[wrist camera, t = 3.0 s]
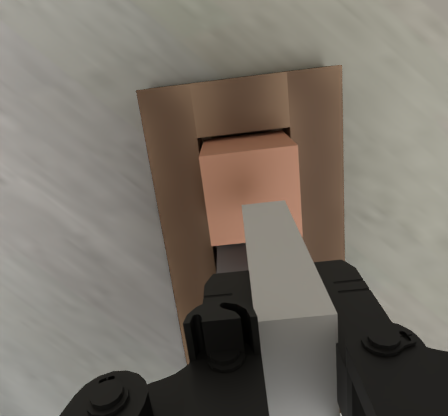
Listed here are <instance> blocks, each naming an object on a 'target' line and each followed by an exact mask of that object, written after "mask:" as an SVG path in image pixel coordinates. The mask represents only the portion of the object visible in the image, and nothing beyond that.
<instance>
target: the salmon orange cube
mask: <svg viewBox="0 0 448 416" xmlns="http://www.w3.org/2000/svg"><path fill="white" fill-rule="evenodd" d="M199 163H200V170H201V177H202V184H203V191H204V198H205V205H206V212H207V219H208V226H209V233H210V240H211V246H220V245H230V244H239V243H246V242H245V232H244V223H243V214H242V205H246V204H255V203H264V202H273V201H283V200H285V202H286V204H287V206H288V208H289V211H290V213H291V215H292V217H293V219H294V221H295V223H296V226H297V228H298V230H299V232H300V234H301V236H302V237H303V230H302V212H301V193H300V174H299V156H298V145H297V144H296V143H295V142H294V141H293V140H292V139H291V138H290V137H289V136H288V135H287V134H285V133H284V132H283V131H273V132H265V133H257V134H248V135H240V136H231V137H223V138H214V139H206V140H204V142H203V145H202V148H201V151H200V154H199Z"/></svg>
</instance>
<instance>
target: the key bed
mask: <svg viewBox="0 0 448 416" xmlns="http://www.w3.org/2000/svg"><path fill="white" fill-rule="evenodd" d="M136 93H137V98H138V104H139V109H140V114H141V120H142V125H143V130H144V136H145V141H146V147H147V152H148V157H149V163H150V168H151V174H152V179H153V184H154V190H155V195H156V200H157V206H158V211H159V217H160V222H161V227H162V233H163V238H164V243H165V249H166V254H167V260H168V265H169V270H170V276H171V281H172V287H173V292H174V297H175V303H176V308H177V313H178V319H179V324H180V330H181V335H182V340H183V346H184V351H185V356H186V362H187V365H188V364H189V362H190V361H189V355H188V350H187V344H186V339H185V333H184V328H183V322H184V320H185V318H186V316H187V314H189V313H190V312H191V311H192V310H193V309H194V308H195V307H197V306H199V305H202V304H203V298H204V297H203V295H204V285H205V283H206V282H207V281H208V280H209V278H210V277H211V276H212V275H213V274H216V269H217V246H211V240H210V233H209V226H208V219H207V212H206V205H205V198H204V191H203V184H202V177H201V170H200V163H199V154H200V151H201V148H202V145H203V142H204V140H206V139H214V138H223V137H231V136H240V135H248V134H257V133H265V132H273V131H283V132H284V133H285V134H287V135H288V136H289V137H290V138H291V139H292V140H293V141H294V142H295V143H296V144H297V145H298V156H299V174H300V193H301V212H302V230H303V237H302V239H303V241H304V243H305V245H306V247H307V249H308V251H309V254H310V256H311V258H312V260H313V262H321V261H331V260H341V259H342V260H343V261H345V241H344V170H343V100H342V65H336V66H326V67H318V68H310V69H301V70H293V71H285V72H277V73H269V74H261V75H253V76H245V77H237V78H229V79H221V80H213V81H205V82H197V83H189V84H181V85H173V86H165V87H157V88H149V89H143V90H136ZM340 413H341V411H340Z"/></svg>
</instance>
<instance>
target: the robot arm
mask: <svg viewBox="0 0 448 416" xmlns="http://www.w3.org/2000/svg"><path fill="white" fill-rule="evenodd" d="M242 214H243V223H244V232H245V242H246V251H247V260H248V269H249V270H246V271H236V272H226V273H217V274H213V275H212V276H211V277H210V278H209V280H208V281H207V282H206V283H205V285H204V295H203V297H204V298H203V304H202V305H199V306H197V307H195V308H194V309H193V310H192V311H191V312H190V313H189V314H187V316H186V318H185V320H184V322H183V328H184V333H185V339H186V344H187V350H188V355H189V361H190V362H189V364H188V365H187V366H186V367H185V368H183V369H182V370H180V371H179V372H177V373H176V374H174V375H171V376H169V377H167V378H164V379H161V380H159V381H156V382H153V383H150V384H146V381H145V380H144V379H143V378H142V377H141V376H140V375H139V374H137V373H134V372H130V371H113V372H110V373H107V374H104V375H101V376H99V377H97V378H95V379H94V380H92V381H90V382H89V383H87V384H86V385H85V386H84V387H83V388H82V389H81V390H80V391H79V392H78V393H77V394H76V395H75V396H74V397H73V398H72V400H71V401H70V402H69V404H68V405H67V406H66V408H65V409H64V410H63V412H62V413H61V414H60V416H340V411H341V414H342V416H448V352H446V351H441V350H436V349H431V348H428V347H426V346H425V344H424V343H423V342H422V340H421V339H420V338H419V337H418V336H417V335H416V334H414V333H413V332H412V331H411V330H409V329H407V328H405V327H403V326H401V325H399V324H395V323H392V322H391V320H390V319H389V317H388V316H387V314H386V313H385V311H384V310H383V308H382V307H381V305H380V304H379V302H378V301H377V299H376V298H375V296H374V295H373V293H372V292H371V290H369V287H368V286H367V284H366V283H365V281H363V278H362V277H361V275H360V274H359V272H358V271H357V269H356V268H355V267H353V266H352V265H350V264H348V263H347V262H345V261H343V260H342V259H341V260H331V261H321V262H313V260H312V258H311V256H310V254H309V251H308V249H307V247H306V245H305V243H304V241H303V239H302V236H301V234H300V232H299V230H298V228H297V226H296V223H295V221H294V219H293V217H292V215H291V213H290V211H289V208H288V206H287V204H286V202H285V200H283V201H273V202H264V203H255V204H246V205H242Z"/></svg>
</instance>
